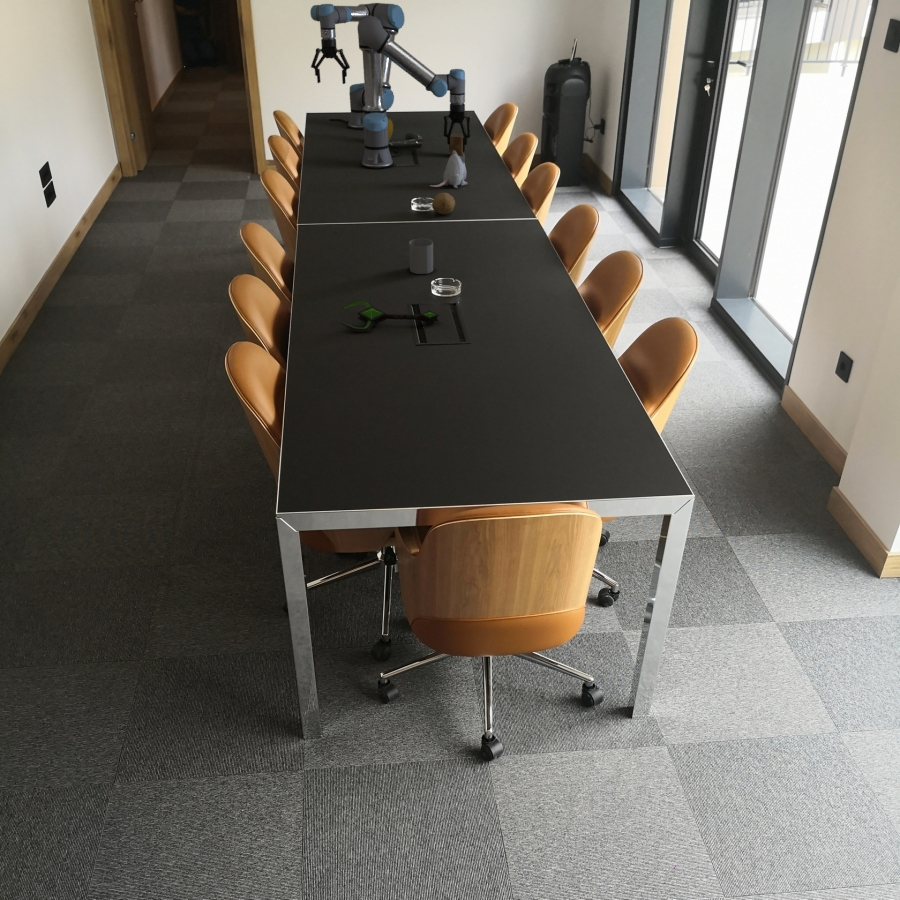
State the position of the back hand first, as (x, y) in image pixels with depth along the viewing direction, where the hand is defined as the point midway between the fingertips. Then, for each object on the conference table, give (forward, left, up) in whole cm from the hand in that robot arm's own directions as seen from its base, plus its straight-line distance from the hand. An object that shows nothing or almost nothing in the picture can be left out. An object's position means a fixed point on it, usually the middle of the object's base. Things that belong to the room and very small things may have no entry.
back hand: (331, 83), depth 451 cm
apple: (+19, +17, -30) cm, 40 cm away
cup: (+165, -106, -30) cm, 198 cm away
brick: (+68, +22, -28) cm, 77 cm away
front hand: (+68, +22, -27) cm, 77 cm away
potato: (+127, -52, -30) cm, 140 cm away
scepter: (+190, -146, -30) cm, 241 cm away
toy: (+103, -24, -30) cm, 110 cm away
